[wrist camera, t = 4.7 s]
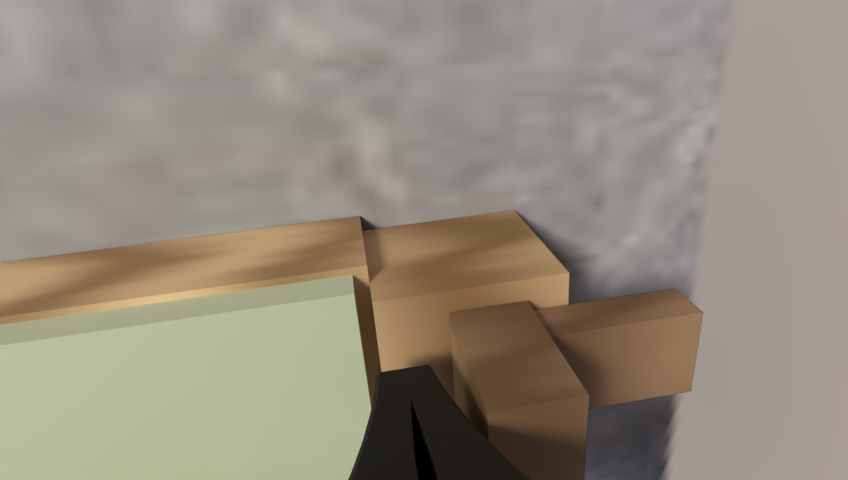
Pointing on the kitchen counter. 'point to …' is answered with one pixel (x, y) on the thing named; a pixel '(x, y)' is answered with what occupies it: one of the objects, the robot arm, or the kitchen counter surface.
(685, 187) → the kitchen counter surface
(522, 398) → the l-shaped wooden piece
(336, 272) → the wooden slab
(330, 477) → the lid
